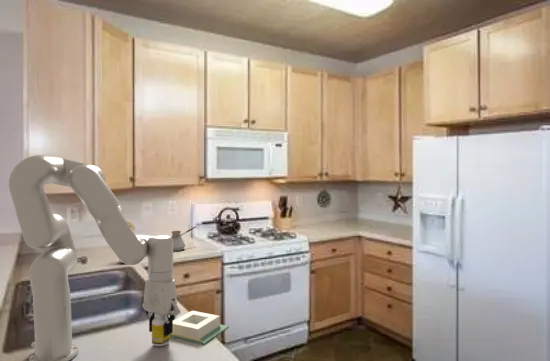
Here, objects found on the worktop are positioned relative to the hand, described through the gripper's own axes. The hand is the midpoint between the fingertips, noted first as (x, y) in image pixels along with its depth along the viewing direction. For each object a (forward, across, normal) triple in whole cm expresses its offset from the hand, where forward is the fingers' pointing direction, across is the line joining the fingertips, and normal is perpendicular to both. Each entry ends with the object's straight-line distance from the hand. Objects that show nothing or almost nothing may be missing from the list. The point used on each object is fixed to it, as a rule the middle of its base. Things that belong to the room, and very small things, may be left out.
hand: (160, 331), depth 120 cm
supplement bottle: (+4, 0, 0) cm, 4 cm away
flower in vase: (+5, -95, +74) cm, 121 cm away
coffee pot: (+4, -88, +116) cm, 146 cm away
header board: (+4, +4, +12) cm, 14 cm away
